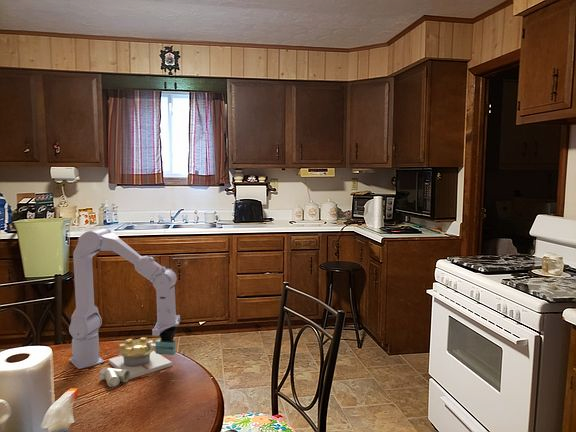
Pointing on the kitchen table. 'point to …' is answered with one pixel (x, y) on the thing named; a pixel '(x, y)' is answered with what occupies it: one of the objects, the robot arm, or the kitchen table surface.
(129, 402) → the kitchen table surface
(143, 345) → the gold gear
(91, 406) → the kitchen table surface
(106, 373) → the pipe fitting
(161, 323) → the robot arm
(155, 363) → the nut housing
